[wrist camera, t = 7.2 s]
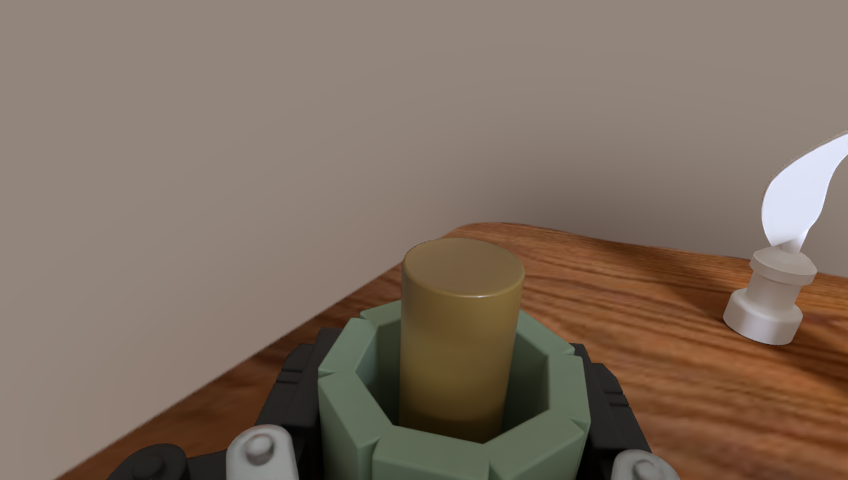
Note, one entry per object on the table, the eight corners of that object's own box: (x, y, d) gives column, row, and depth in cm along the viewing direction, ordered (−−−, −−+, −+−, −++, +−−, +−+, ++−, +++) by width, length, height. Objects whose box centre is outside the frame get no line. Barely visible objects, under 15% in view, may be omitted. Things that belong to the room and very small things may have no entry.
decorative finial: (716, 328, 32) (888, -120, 21) (719, 302, 35) (870, -100, 24) (822, 361, 29) (1081, -136, 18) (814, 329, 32) (1032, -110, 21)
